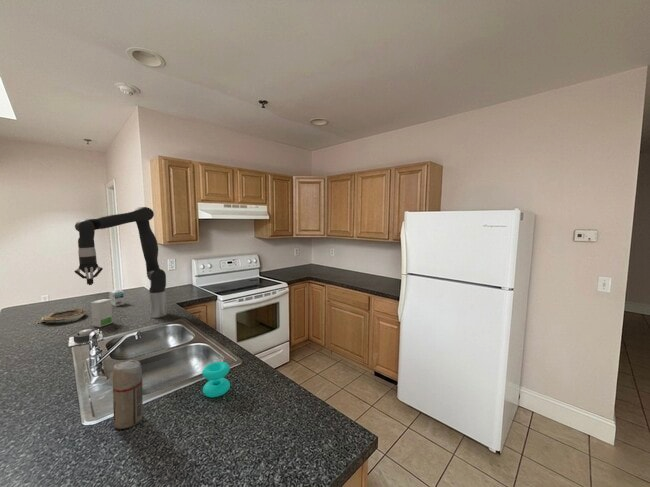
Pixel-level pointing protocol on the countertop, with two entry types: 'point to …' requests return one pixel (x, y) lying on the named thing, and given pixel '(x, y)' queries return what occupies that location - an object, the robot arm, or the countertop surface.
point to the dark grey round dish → (81, 339)
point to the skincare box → (101, 312)
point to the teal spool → (216, 379)
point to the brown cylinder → (127, 394)
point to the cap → (85, 332)
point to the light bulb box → (117, 297)
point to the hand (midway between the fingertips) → (90, 284)
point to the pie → (63, 316)
